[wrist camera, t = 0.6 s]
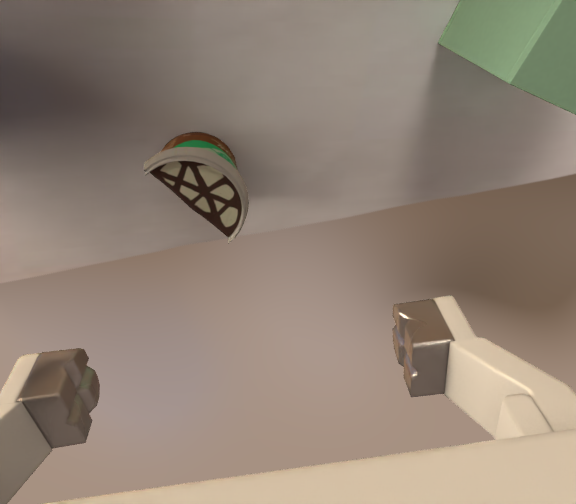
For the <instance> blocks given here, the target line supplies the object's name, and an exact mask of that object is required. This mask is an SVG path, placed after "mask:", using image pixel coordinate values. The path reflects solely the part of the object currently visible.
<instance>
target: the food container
mask: <svg viewBox="0 0 576 504" xmlns="http://www.w3.org/2000/svg"><path fill="white" fill-rule="evenodd" d="M144 171H145V172H146V173H145V175H147V174H148V173H149V172H150V173H151V174H152V175H153V176H154V177H155V178H157V179H159V180H160V181H161V182H162V183H164V184H165V185H166V186H167V187H168V188H169V189H171V190H172V191H173V192H174V193H175V194H176V195H177V196H178V197H179V198H181V199H182V200H183V201H184V202H185V203H186V204H187V205H188V206H189V207H190V208H192V209H193V210H194V211H196V212H197V213H198V214H200V215H201V216H203V217H204V218H205V219H207V220H208V221H209V222H210V223H212V224H213V225H214V226H215V227H216V228H218V229H219V230H220V231H221V232H223V233H224V234H225V235H226V236H227V237H228V243H230V242H231V241H232V240H233V239H234V238H235V237H236V236H237V234H238V233H239V231H240V230H241V228H242V226H243V224H244V221H245V219H246V216H247V212H248V205H249V199H248V192H247V188H246V185H245V183H244V181H243V179H242V177H241V175H240V174H239V172H238V171H237V166H236V162H235V157H234V155H233V153H232V152H231V150H230V148H229V147H228V146H227V145H226V144H225V143H224V142H222V141H221V140H220V139H218V138H216V137H215V136H212V135H209V134H206V133H199V132H192V133H186V134H182V135H180V136H177V137H175V138H174V139H172V140H171V141H169V142H168V143H167V144H166V145H165V147H164V148H163V149H162V151H161V152H160V153H158V154H156V155H154V156H152V157H151V158H150V159H148V160H147V161H146V162H145V163H144Z"/></svg>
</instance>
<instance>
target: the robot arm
mask: <svg viewBox="0 0 576 504" xmlns="http://www.w3.org/2000/svg"><path fill="white" fill-rule="evenodd" d="M393 318H394V320H395V323H396V325H395V326H394V328H393V342H394V349H395V353H396V356H397V360H398V362H399V364H400V365H402V366H403V367H404V379H405V382H406V385H407V387H408V390H409V393H410V395H411V397H418V396H426V395H435V394H444V393H445V396H446V397H447V398H448V399H450V400H451V401H452V402H453V403H454V404H456V405H457V406H458V407H459V408H460V409H461V410H463V411H464V412H465V413H466V414H467V415H468V416H470V417H471V418H472V419H473V420H474V421H476V422H477V423H478V424H479V425H480V426H481V427H483V428H484V429H485V430H486V431H487V432H488V433H490V434H491V435H492V436H493V437H494V438H495V439H494V440H492V441H485V442H478V443H470V444H463V445H456V446H449V447H442V448H435V449H428V450H420V451H413V452H407V453H399V454H392V455H385V456H378V457H370V458H363V459H356V460H350V461H342V462H335V463H328V464H321V465H313V466H306V467H299V468H292V469H285V470H278V471H270V472H263V473H256V474H249V475H242V476H235V477H228V478H221V479H214V480H206V481H199V482H192V483H185V484H178V485H171V486H164V487H157V488H150V489H142V490H135V491H128V492H121V493H114V494H107V495H99V496H93V497H85V498H78V499H71V500H64V501H57V502H50V503H42V504H576V394H575V393H574V391H573V390H572V389H571V387H570V386H569V385H567V384H565V383H564V382H562V381H560V380H558V379H557V378H555V377H553V376H551V375H549V374H548V373H546V372H544V371H542V370H541V369H539V368H537V367H535V366H533V365H532V364H530V363H528V362H526V361H524V360H523V359H521V358H519V357H517V356H516V355H514V354H512V353H510V352H509V351H507V350H505V349H503V348H501V347H500V346H498V345H496V344H494V343H493V342H490V341H489V340H487V339H485V338H484V337H481V338H477V336H476V334H475V333H474V331H473V330H472V328H471V326H470V324H469V322H468V321H467V319H466V317H465V316H464V314H463V312H462V310H461V309H460V307H459V305H458V304H457V302H456V300H455V298H454V297H452V296H451V295H450V296H444V297H438V298H432V299H426V300H420V301H413V302H406V303H399V304H394V306H393ZM88 359H89V358H88V356H87V354H86V352H85V350H84V349H81V348H76V349H68V350H59V351H51V352H42V353H37V354H28V355H23V356H21V357H20V358H19V359H18V360H17V362H16V364H15V366H14V368H13V370H12V372H11V374H10V376H9V377H8V379H7V381H6V383H5V385H4V387H3V389H2V391H1V393H0V504H7V503H8V502H9V501H10V500H11V498H12V497H13V496H14V495H15V494H16V493H17V491H18V490H19V489H20V488H21V487H22V485H23V484H24V483H25V482H26V481H27V480H28V478H29V477H30V476H31V475H32V474H33V472H34V471H35V470H36V469H37V468H38V467H39V465H40V464H41V463H42V462H43V461H44V459H45V458H46V457H47V456H48V455H49V454H50V452H51V451H52V448H57V447H63V446H69V445H75V444H81V443H85V442H86V439H87V436H88V433H89V430H90V426H91V423H92V419H91V417H90V415H89V413H90V412H91V411H92V410H93V409H94V408H95V407H96V406H97V403H98V399H99V387H100V385H99V380H98V376H97V374H96V372H95V370H93V369H92V368H90V367H88V366H87V362H88Z"/></svg>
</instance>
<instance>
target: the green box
mask: <svg viewBox="0 0 576 504" xmlns="http://www.w3.org/2000/svg"><path fill="white" fill-rule="evenodd" d="M438 44H440V45H442V46H444V47H445V48H447V49H449V50H451V51H452V52H454V53H456V54H458V55H459V56H461V57H463V58H465V59H466V60H468V61H470V62H472V63H474V64H475V65H477V66H479V67H481V68H482V69H484V70H486V71H488V72H489V73H491V74H493V75H495V76H496V77H498V78H500V79H502V80H503V81H505V82H507V83H509V84H511V85H513V86H515V87H517V88H519V89H521V90H524V91H526V92H528V93H530V94H532V95H534V96H537V97H539V98H541V99H543V100H545V101H547V102H549V103H552V104H554V105H556V106H558V107H560V108H562V109H565V110H567V111H569V112H571V113H573V114H575V115H576V0H460V2H459V4H458V6H457V7H456V9H455V11H454V13H453V15H452V17H451V19H450V21H449V23H448V24H447V26H446V28H445V30H444V32H443V34H442V36H441V38H440V40H439V41H438Z"/></svg>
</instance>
